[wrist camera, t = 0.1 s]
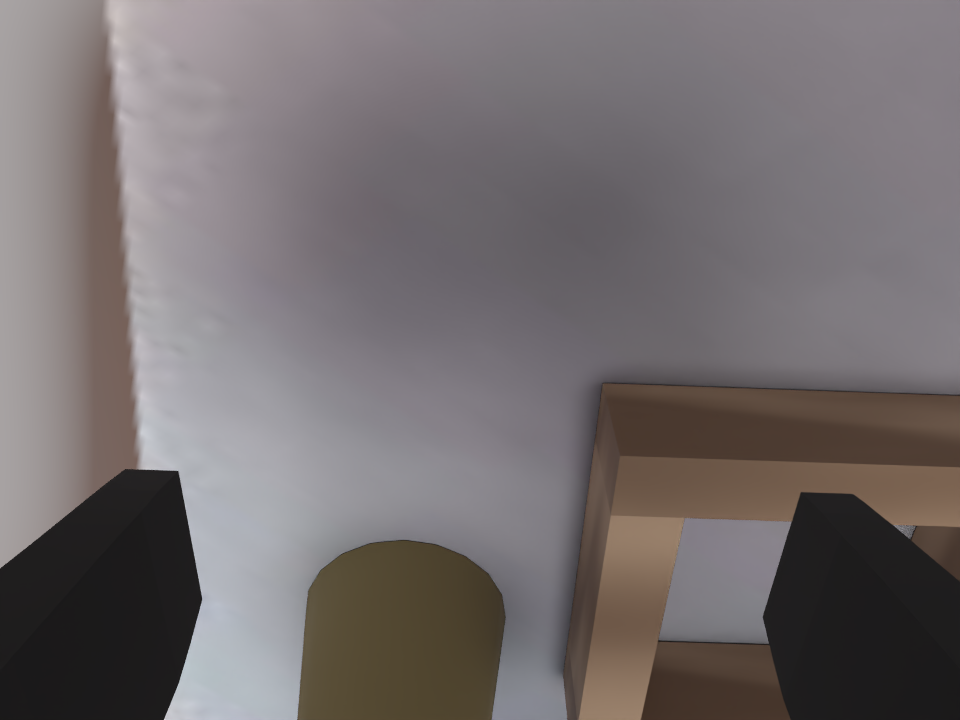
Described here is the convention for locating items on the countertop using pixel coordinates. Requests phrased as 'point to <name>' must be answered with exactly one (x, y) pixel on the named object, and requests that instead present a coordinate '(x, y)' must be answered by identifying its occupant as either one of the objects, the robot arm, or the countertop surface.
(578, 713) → the socket block
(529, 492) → the countertop surface
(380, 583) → the olive rounded peg
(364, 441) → the countertop surface
